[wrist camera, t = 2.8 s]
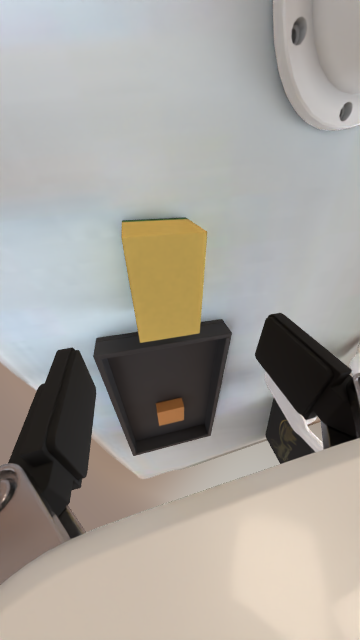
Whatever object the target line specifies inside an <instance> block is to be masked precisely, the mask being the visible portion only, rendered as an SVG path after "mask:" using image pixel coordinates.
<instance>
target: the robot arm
mask: <svg viewBox="0 0 360 640" xmlns="http://www.w3.org/2000/svg"><path fill="white" fill-rule="evenodd" d="M273 29H274V46H275V52H276V58H277V65H278V71H279V75H280V78H281V81H282V84H283V87H284V90H285V93H286V96H287V98H288V99H289V101H290V103H291V105H292V106H293V108H294V110H295V112H296V113H297V114H298V115H299V116H300V117H301V118H302V119H303V120H304V121H305V122H306V123H308V124H310V125H312V126H314V127H316V128H317V129H321V130H329V131H335V130H341V129H347V128H351V127H354V126H358V125H360V0H273ZM255 356H256V359H257V360H258V362H259V363H260V364H261V366H262V367H263V368H264V370H265V371H266V372H267V374H268V375H269V376H270V377H271V379H272V380H273V381H274V383H275V384H276V385H277V387H278V388H279V389H280V391H281V392H282V393H283V394H284V396H285V397H286V398H287V400H288V401H289V402H290V404H291V405H292V406H293V408H294V409H295V410H296V411H297V412H298V413H299V414H301V415H302V416H303V417H304V419H305V420H309V419H312V418H315V417H316V416H318V417H319V418H320V420H321V428H322V438H323V449H324V450H321V451H318V452H315V453H312V454H309V455H306V456H303V457H300V458H297V459H294V460H291V461H288V462H285V463H282V464H279V465H276V466H274V467H270V468H268V469H264V470H262V471H259V472H256V473H253V474H250V475H247V476H244V477H241V478H238V479H235V480H232V481H229V482H226V483H223V484H220V485H217V486H215V487H212V488H209V489H206V490H203V491H200V492H197V493H194V494H192V495H189V496H186V497H183V498H180V499H177V500H174V501H171V502H168V503H165V504H162V505H160V506H157V507H154V508H151V509H148V510H145V511H143V512H140V513H137V514H134V515H132V516H129V517H126V518H123V519H121V520H118V521H115V522H112V523H110V524H107V525H104V526H102V527H99V528H96V529H94V530H91V531H89V532H87V533H86V531H85V530H84V528H83V527H82V526H81V524H80V523H79V521H78V519H77V518H76V516H75V515H74V514H73V512H72V511H71V509H70V508H69V506H68V504H69V503H70V497H71V490H74V489H78V488H80V487H81V482H82V478H85V477H86V475H87V470H88V460H89V452H90V443H91V435H92V426H93V417H94V408H95V399H96V387H95V385H94V383H93V380H92V378H91V376H90V374H89V371H88V369H87V367H86V365H85V362H84V360H83V358H82V356H81V353H80V351H79V350H75V349H74V348H67V349H61V350H58V351H57V352H56V355H55V358H54V360H53V363H52V366H51V368H50V371H49V374H48V377H47V379H46V382H45V384H41V385H40V386H39V388H38V390H37V392H36V394H35V397H34V399H33V402H32V404H31V407H30V409H29V413H28V415H27V417H26V420H25V422H24V425H23V427H22V430H21V432H20V435H19V437H18V440H17V442H16V445H15V447H14V450H13V452H12V455H11V458H10V460H9V462H8V464H4V465H1V466H0V640H360V373H357V374H355V375H354V376H353V377H351V376H350V375H349V374H350V373H351V372H352V370H351V369H350V368H349V367H347V366H346V365H345V364H344V363H342V362H341V361H340V360H339V359H338V358H336V357H335V356H334V355H333V354H331V353H330V352H329V351H328V350H327V349H325V348H324V347H323V346H322V345H320V344H319V343H318V342H317V341H316V340H314V339H313V338H312V337H311V336H309V335H308V334H307V333H306V332H305V331H303V330H302V329H301V328H300V327H298V326H297V325H296V324H295V323H294V322H292V321H291V320H290V319H289V318H287V317H286V316H285V315H284V314H282V313H277V314H271V315H269V316H268V318H267V319H266V320H265V323H264V327H263V330H262V333H261V336H260V340H259V343H258V346H257V349H256V352H255Z"/></svg>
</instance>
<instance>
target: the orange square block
mask: <svg viewBox="0 0 360 640" xmlns="http://www.w3.org/2000/svg"><path fill="white" fill-rule="evenodd" d="M156 408H157V415H158V422H159V426H161V425H165V424H169V423H173V422H177V421H182V420H184V404H183V401H182V398H177V399H172V400H168V401H163V402H159V403H156Z"/></svg>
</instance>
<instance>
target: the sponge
mask: <svg viewBox="0 0 360 640" xmlns="http://www.w3.org/2000/svg"><path fill="white" fill-rule="evenodd" d="M121 238H122V244H123V250H124V255H125V261H126V266H127V272H128V278H129V283H130V289H131V295H132V300H133V306H134V311H135V317H136V323H137V328H138V334H139V340H140V343H143V342H149V341H155V340H161V339H167V338H173V337H180V336H186V335H192V334H198V333H200V322H201V309H202V296H203V282H204V269H205V256H206V242H207V231H205V230H204V229H202V228H201V227H199V226H198V225H196V224H195V223H193V222H192V221H190V220H189V219H187V218H169V219H148V220H126V221H122V236H121Z"/></svg>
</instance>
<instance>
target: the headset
mask: <svg viewBox="0 0 360 640" xmlns="http://www.w3.org/2000/svg"><path fill="white" fill-rule="evenodd" d="M350 369H351V370H352V372H351V374H352V376H354V375H355V374H357V373H360V344H359V345H358V348H357V352H356V355H355V356H354V357H353V358H352V359H351V361H350ZM265 382H266V384H267V386H268V388H269V390H270V391H271V393H272V395H273V397H274V398H275V400H276V402H277V403H278V405H279V407H280V408H281V410H282V412H283V414H284V415H285V417H286V419H287V420H288V422H289V424H290V425H291V427H292V428H293V430H294V431H295V432H296V433H297V434H298V435H300V436H301V437H302V438H303V439H304V440H305V442H306V443H307V444H308V445H309V446H310V447H311V448H312V449H313V450H314V451H315V452H318V451H321V450H324V449H323V443H322V442H321V441H320V440H319V439H318V438H317V437H316V436H315V435H314V434H313V433H312V432H311V431H310V429H309V428H308V426H307V424H309V423H312V422H313V421H314V420H315V419H316V417H317V416H316V417H315V418H312V419H309V420H305V419H304V417H303V416H302V415H301V414H299V413H298V412H297V411H296V410H295V409H294V408H293V406H292V405H291V404H290V402H289V401H288V400H287V398H286V397H285V396H284V394H283V393H282V392H281V391H280V389H279V388H278V387H277V385H276V384H275V383H274V381H273V380H272V379H271V377H270V376H269V375H268V374H267V372H266V371H265Z"/></svg>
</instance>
